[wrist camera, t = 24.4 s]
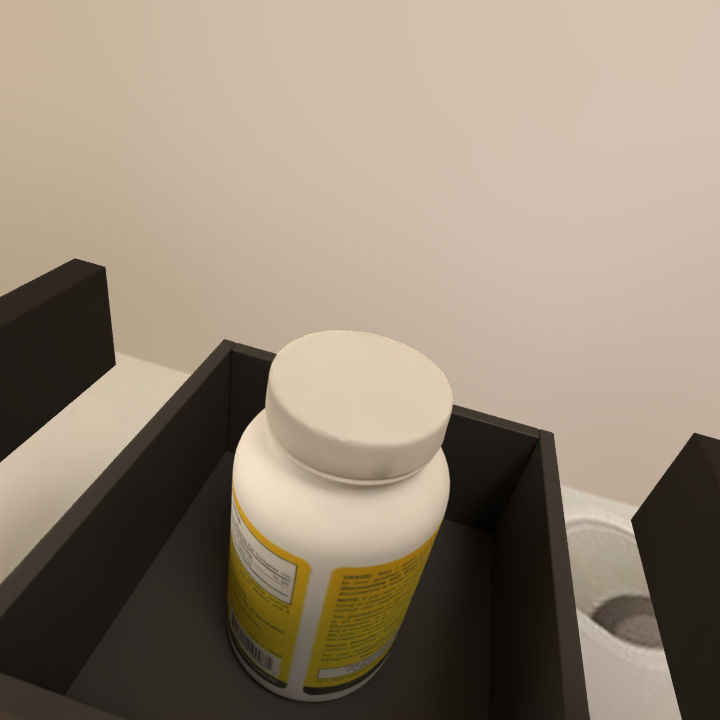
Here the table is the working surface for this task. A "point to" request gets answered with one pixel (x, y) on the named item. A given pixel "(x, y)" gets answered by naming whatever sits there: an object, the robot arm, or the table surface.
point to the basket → (210, 583)
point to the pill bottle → (334, 510)
